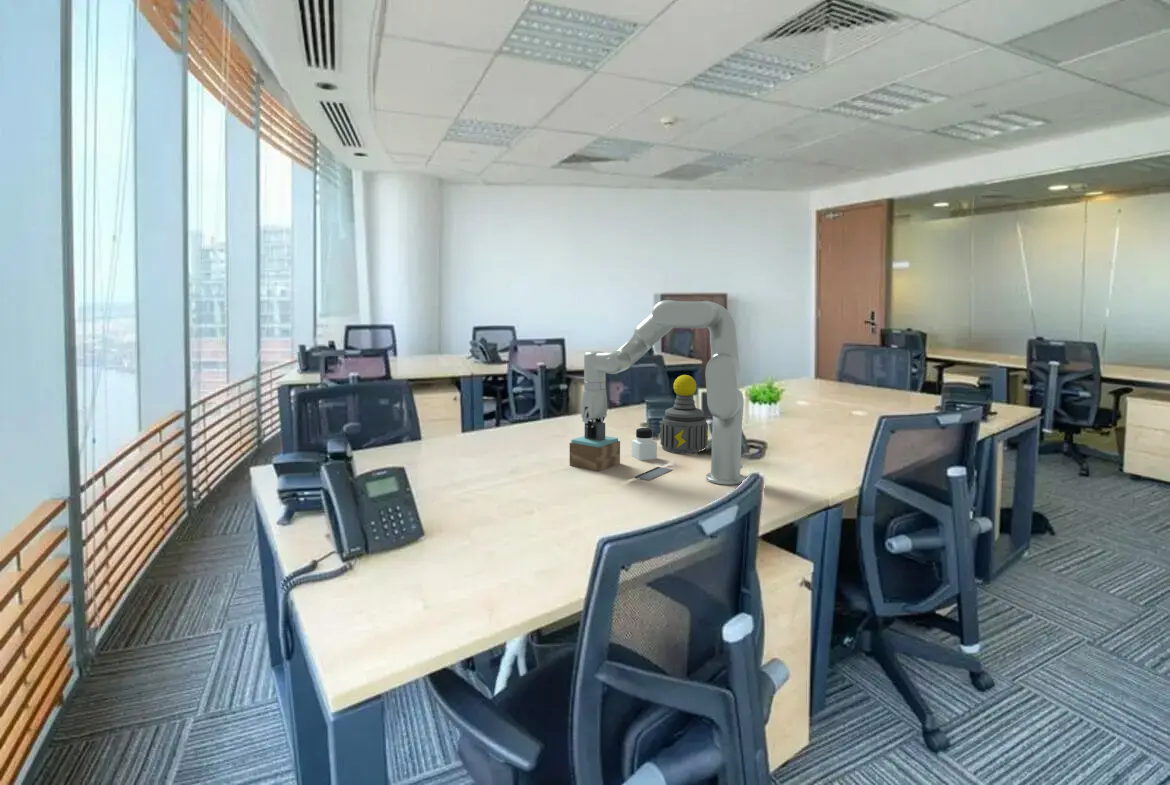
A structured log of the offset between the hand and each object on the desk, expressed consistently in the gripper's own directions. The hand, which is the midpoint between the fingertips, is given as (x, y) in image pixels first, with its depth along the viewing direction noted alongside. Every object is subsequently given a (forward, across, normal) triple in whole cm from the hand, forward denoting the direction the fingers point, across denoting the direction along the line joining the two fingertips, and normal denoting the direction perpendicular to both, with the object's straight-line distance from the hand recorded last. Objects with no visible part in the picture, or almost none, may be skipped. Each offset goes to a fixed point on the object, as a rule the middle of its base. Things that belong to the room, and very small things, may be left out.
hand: (594, 436), depth 223 cm
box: (+11, 0, 0) cm, 11 cm away
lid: (+2, 0, 0) cm, 2 cm away
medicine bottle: (+11, -19, +9) cm, 24 cm away
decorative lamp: (+11, -43, +13) cm, 46 cm away
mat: (+11, -4, +17) cm, 21 cm away
